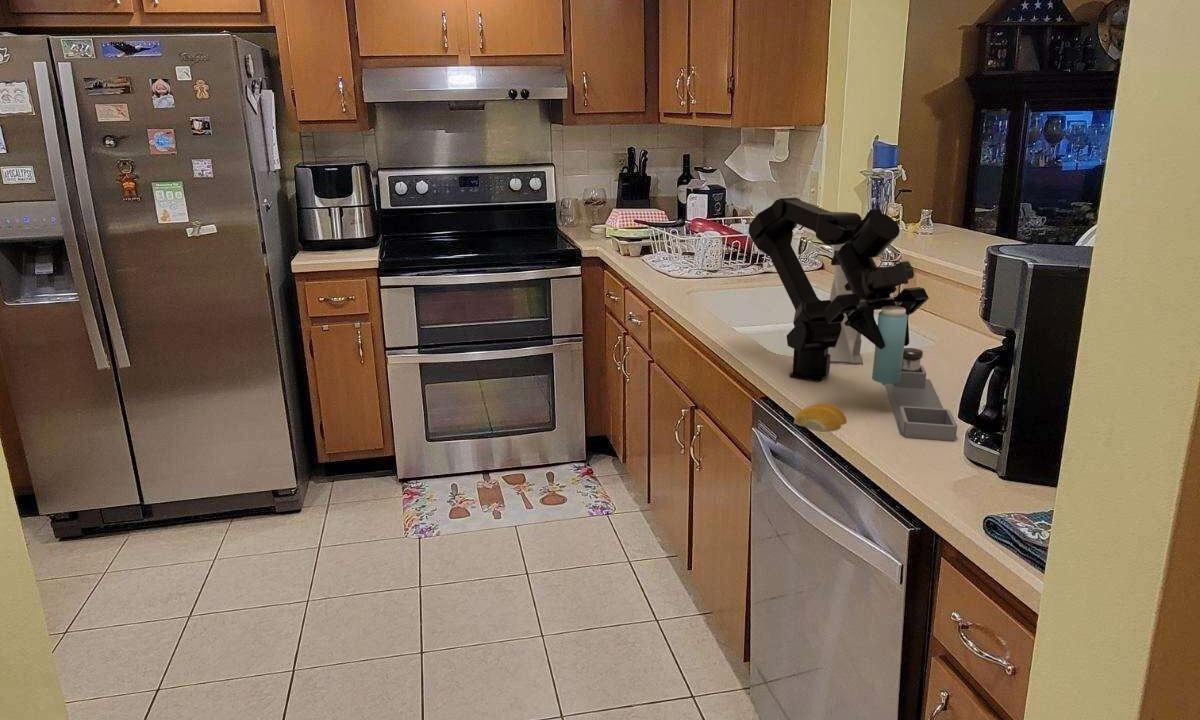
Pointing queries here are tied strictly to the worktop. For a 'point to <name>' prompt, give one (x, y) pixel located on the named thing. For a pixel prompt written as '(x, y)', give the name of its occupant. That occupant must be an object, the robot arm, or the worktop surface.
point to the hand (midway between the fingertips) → (895, 346)
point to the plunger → (911, 359)
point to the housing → (920, 408)
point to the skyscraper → (848, 337)
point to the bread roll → (821, 417)
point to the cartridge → (890, 345)
